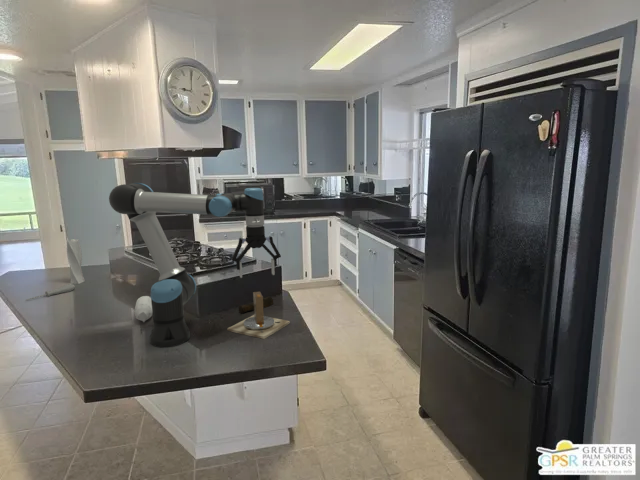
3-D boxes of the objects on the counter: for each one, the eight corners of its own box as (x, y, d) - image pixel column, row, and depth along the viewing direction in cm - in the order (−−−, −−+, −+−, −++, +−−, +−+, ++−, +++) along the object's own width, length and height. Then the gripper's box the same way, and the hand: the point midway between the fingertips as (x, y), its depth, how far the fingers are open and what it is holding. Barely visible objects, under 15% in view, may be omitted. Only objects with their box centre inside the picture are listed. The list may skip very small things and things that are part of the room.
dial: (242, 320, 188) (240, 291, 186) (271, 317, 192) (270, 288, 189) (245, 331, 176) (244, 300, 173) (276, 327, 179) (275, 296, 177)
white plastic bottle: (133, 327, 187) (131, 309, 185) (136, 312, 204) (135, 296, 203) (152, 324, 189) (151, 307, 188) (154, 310, 207) (153, 294, 205)
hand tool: (242, 314, 200) (241, 305, 199) (238, 312, 203) (237, 303, 202) (276, 306, 212) (275, 297, 211) (271, 304, 215) (271, 295, 214)
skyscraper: (67, 284, 256) (61, 237, 251) (76, 280, 263) (70, 235, 258) (78, 284, 254) (73, 238, 249) (87, 281, 262) (82, 235, 257)
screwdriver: (24, 304, 225) (22, 296, 225) (73, 290, 245) (71, 282, 244) (28, 304, 222) (25, 296, 222) (77, 289, 242) (75, 282, 242)
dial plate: (227, 330, 180) (227, 328, 180) (255, 316, 197) (254, 313, 196) (264, 338, 171) (263, 336, 171) (289, 323, 188) (289, 320, 187)
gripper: (225, 228, 169) (227, 280, 173) (286, 225, 177) (288, 275, 180) (223, 226, 176) (226, 276, 180) (282, 222, 184) (284, 270, 187)
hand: (257, 275), depth 180 cm, fingers open, 13 cm apart
